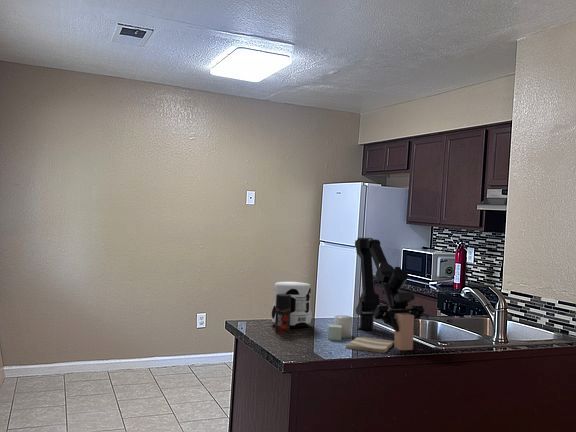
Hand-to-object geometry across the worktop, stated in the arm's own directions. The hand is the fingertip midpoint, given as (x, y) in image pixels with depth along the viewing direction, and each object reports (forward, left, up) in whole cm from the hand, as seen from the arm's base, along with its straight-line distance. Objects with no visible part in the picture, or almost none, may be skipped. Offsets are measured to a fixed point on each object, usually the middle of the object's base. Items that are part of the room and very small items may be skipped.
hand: (405, 331), depth 203 cm
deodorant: (-2, -50, -7) cm, 50 cm away
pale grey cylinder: (-10, -27, -7) cm, 29 cm away
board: (+2, -12, -7) cm, 14 cm away
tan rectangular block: (-1, -1, -7) cm, 7 cm away
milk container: (-16, -52, -7) cm, 55 cm away
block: (-3, -28, -7) cm, 29 cm away
